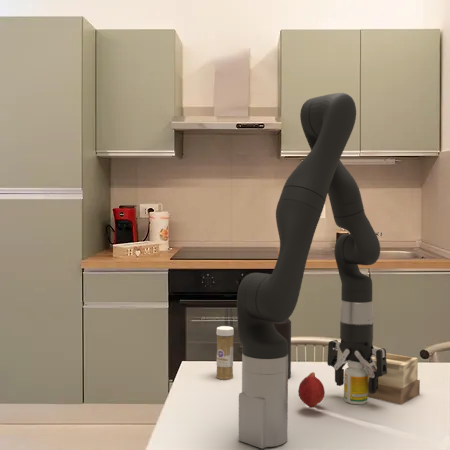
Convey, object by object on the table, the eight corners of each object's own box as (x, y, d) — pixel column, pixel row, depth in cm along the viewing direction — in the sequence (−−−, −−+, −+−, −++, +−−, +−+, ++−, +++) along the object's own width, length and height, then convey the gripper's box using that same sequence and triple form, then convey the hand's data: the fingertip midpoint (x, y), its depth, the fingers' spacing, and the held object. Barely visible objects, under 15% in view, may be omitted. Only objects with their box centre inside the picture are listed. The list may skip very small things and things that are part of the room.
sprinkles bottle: (213, 379, 154) (213, 328, 153) (219, 374, 158) (220, 325, 158) (230, 381, 152) (230, 329, 152) (235, 376, 156) (236, 326, 156)
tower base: (400, 406, 134) (400, 389, 134) (361, 396, 141) (361, 380, 141) (419, 396, 142) (419, 380, 141) (381, 387, 148) (381, 372, 148)
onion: (304, 413, 128) (304, 376, 128) (294, 404, 134) (294, 369, 134) (328, 410, 130) (329, 374, 130) (317, 402, 135) (318, 368, 135)
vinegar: (277, 382, 151) (277, 305, 150) (260, 376, 156) (260, 302, 156) (296, 378, 155) (296, 303, 154) (279, 372, 160) (279, 299, 160)
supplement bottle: (339, 400, 137) (339, 359, 137) (353, 396, 140) (354, 356, 140) (357, 406, 133) (358, 364, 132) (372, 401, 136) (372, 360, 136)
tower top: (403, 388, 135) (403, 365, 135) (366, 381, 140) (367, 359, 140) (417, 379, 142) (417, 358, 142) (382, 372, 147) (382, 352, 147)
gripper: (321, 318, 138) (321, 386, 139) (376, 326, 128) (376, 399, 129) (338, 314, 144) (338, 379, 144) (392, 321, 134) (392, 391, 134)
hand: (356, 389), depth 137 cm, fingers open, 8 cm apart
